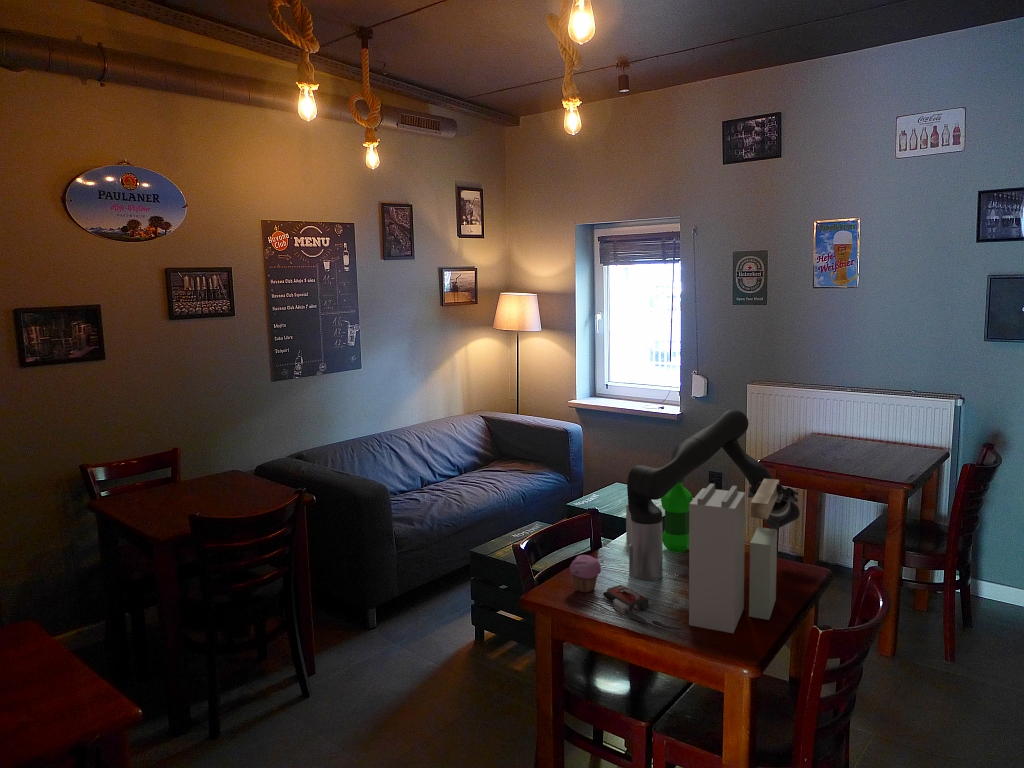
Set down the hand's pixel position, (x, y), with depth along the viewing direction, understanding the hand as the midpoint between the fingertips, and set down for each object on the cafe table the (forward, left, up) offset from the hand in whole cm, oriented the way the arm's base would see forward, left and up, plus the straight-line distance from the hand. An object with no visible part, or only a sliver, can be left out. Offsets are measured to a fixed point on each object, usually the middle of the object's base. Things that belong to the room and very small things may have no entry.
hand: (769, 486), depth 195 cm
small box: (-45, +28, -31) cm, 61 cm away
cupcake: (-48, -16, -31) cm, 59 cm away
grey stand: (-10, -18, -31) cm, 37 cm away
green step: (0, -8, -31) cm, 32 cm away
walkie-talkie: (-32, -22, -32) cm, 50 cm away
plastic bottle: (-32, +25, -31) cm, 51 cm away
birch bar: (0, -6, -3) cm, 7 cm away
